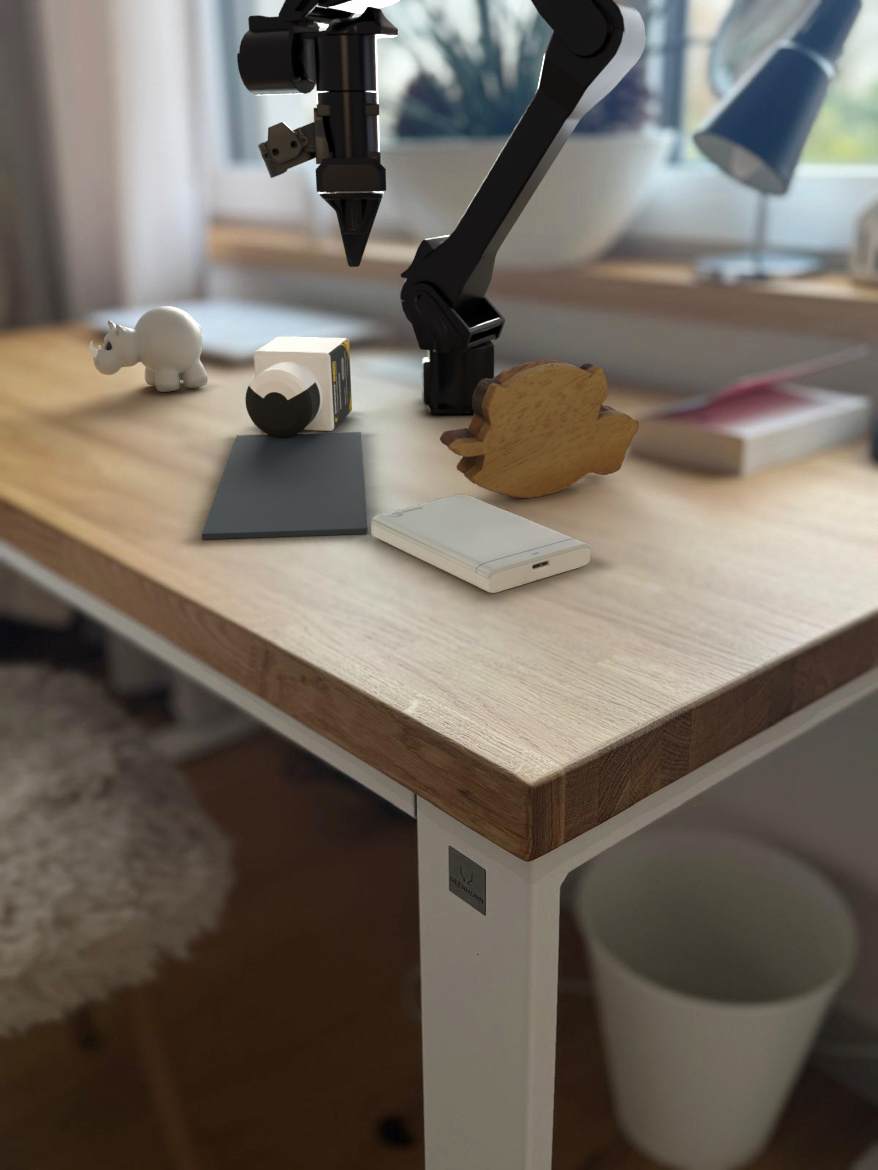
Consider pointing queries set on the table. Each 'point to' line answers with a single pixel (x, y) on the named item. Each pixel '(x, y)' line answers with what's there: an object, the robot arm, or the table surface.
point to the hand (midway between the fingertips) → (353, 266)
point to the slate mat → (290, 487)
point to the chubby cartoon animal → (156, 349)
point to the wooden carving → (541, 430)
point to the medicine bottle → (300, 385)
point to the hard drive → (480, 542)
